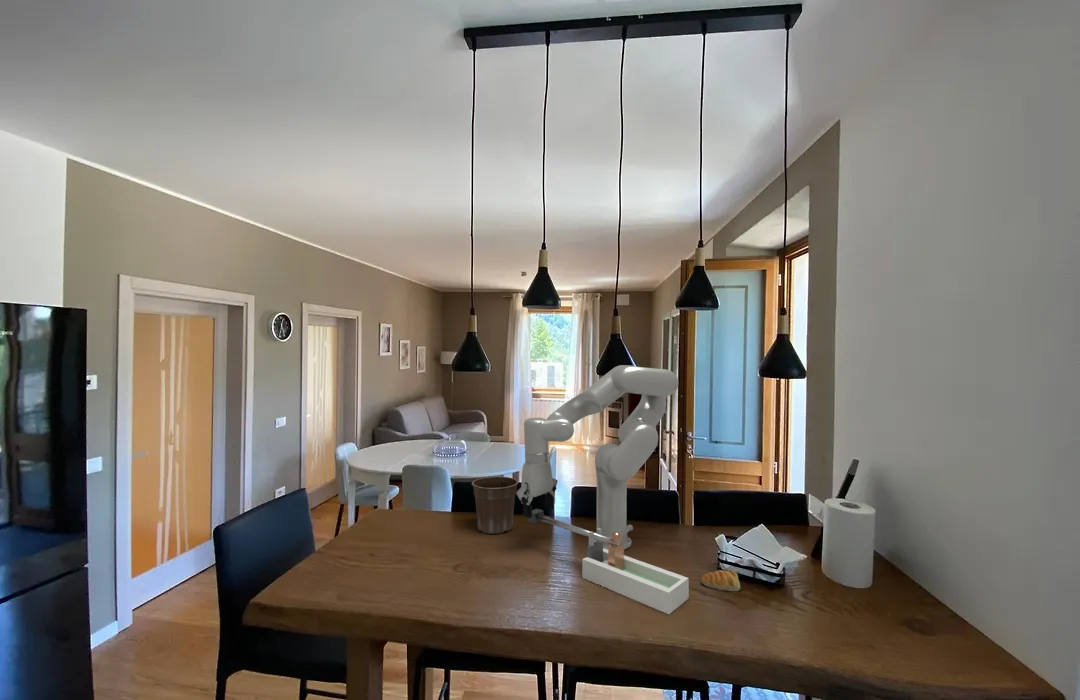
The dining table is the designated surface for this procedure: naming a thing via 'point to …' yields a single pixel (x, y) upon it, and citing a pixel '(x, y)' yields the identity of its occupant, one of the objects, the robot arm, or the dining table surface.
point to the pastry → (721, 580)
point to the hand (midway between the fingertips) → (538, 512)
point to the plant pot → (495, 503)
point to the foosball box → (635, 579)
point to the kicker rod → (613, 550)
